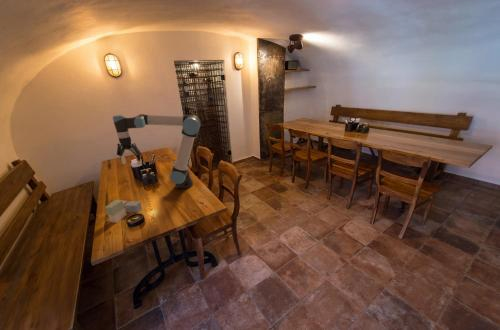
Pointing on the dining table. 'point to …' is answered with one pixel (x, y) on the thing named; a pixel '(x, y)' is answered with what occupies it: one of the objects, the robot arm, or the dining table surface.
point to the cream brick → (117, 216)
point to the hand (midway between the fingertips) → (131, 164)
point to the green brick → (114, 207)
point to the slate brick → (133, 207)
